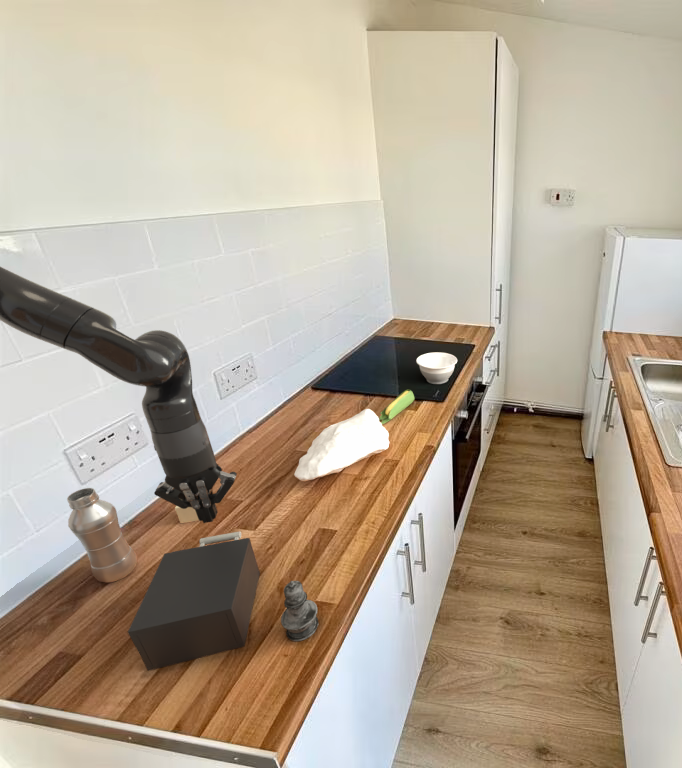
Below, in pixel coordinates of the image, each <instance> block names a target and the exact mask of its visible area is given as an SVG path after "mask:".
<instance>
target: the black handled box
mask: <svg viewBox="0 0 682 768" xmlns="http://www.w3.org/2000/svg"><path fill="white" fill-rule="evenodd" d="M245 538H246V539H244V538H240V539H241V540H239V539H238V540H236V541H233V540H229V541H230V542H228V541H224V542H225V543H223V542H218V543H219V544H217V543H213V544H214V545H212V544H208V545H209V546H207V545H204V546H203V547H199V546H197V547H198V548H196V547H191V548H192V549H190V548H186V549H187V550H185V549H181V550H182V551H180V550H175V551H176V552H174V551H171V552H166V553H164V554H163V556H162V558H161V560H160V563H159V564H158V566H157V569H156V571H155V573H154V575H153V577H152V580H151V581H150V584H149V586H148V588H147V590H146V592H145V594H144V596H143V599H142V600H141V603H140V604H139V607H138V610H137V611H136V614H135V616H134V618H133V620H132V622H131V624H130V626H129V628H128V631H127V634H128V636H129V637H130V639H131V641H132V643H133V645H134V647H135V649H136V650H137V652H138V655H139V656H140V659H141V660H142V662H143V664H144V666H145V667H146V670H147V671H148V672H149V671H153V670H157V669H160V668H164V667H169V666H174V665H176V664H177V665H178V664H180V663H181V664H182V663H184V662H189V661H192V660H197V659H201V658H203V657H204V658H205V657H208V656H212V655H216V654H220V653H224V652H228V651H232V650H236V649H240V648H243V647H245V645H246V641H247V636H248V632H249V628H250V627H249V626H250V622H251V618H252V613H253V609H254V608H253V607H254V603H255V598H256V595H257V589H258V584H259V580H260V575H261V572H260V569H259V565H258V562H257V559H256V555H255V552H254V548H253V545H252V541H251V538H250V537H245Z"/></svg>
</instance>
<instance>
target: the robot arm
mask: <svg viewBox="0 0 682 768" xmlns="http://www.w3.org/2000/svg"><path fill="white" fill-rule="evenodd" d="M0 321H1V322H2V323H4V324H6V325H7V326H9V327H10V328H13V329H15V330H17V331H19V332H21V333H23V334H25V335H28V336H30V337H32V338H35V339H38V340H40V341H42V342H45V343H48V344H50V345H53V346H55V347H58V348H61V349H64V350H66V351H69V352H72V353H74V354H78V355H79V356H81V357H82V358H83V359H85V360H87V361H88V362H89V363H91V364H93V365H94V366H96V367H98V368H99V369H101V370H103V371H104V372H106V373H107V374H109V375H111V376H112V377H114V378H116V379H118V380H120V381H122V382H124V383H127V384H130V385H134V386H138V387H145V392H144V394H143V397H142V399H141V408H142V412H143V415H144V417H145V420H146V422H147V423H146V424H147V425H148V428H149V430H150V434H151V440H152V444H153V449H154V451H156V454H157V456H158V457H157V458H158V459H159V463H160V465H161V468H162V470H163V473H164V474H165V477H164V481H161V482H159V484H158V485H157V486H156V488H155V490H154V495H155V496H156V497H158V498H161V499H162V500H164V501H166V502H168V503H170V504H172V505H174V506H175V507H176V506H178V507H180V508H182V509H186V508H188V507H192V508H193V509H195V511H196V514H197V516H198V519H199V522H202V523H203V524H207V523H212V522H214V520H215V519H216V517H217V515H218V513H219V511H218V508H217V505H216V504H220V503H221V502H222V501H223V499H224V498H225V496H226V495H227V494H228V492H229V491H230V490H231V488H232V487H233V485H234V483H235V481H236V477H237V472H235V471H230V472H226V471H223V469H222V466H220V465H219V464H218V463H217V460H216V455H215V453H214V449H213V447H212V443H211V440H210V437H209V433H208V430H207V427H206V425H205V423H204V422H203V419H202V417H201V413H200V411H199V408H198V404H197V401H196V399H195V397H194V393H193V377H192V366H191V358H190V356H189V351H188V350H187V348H186V346H185V344H184V343H183V341H182V340H181V339H180V338H179V337H177V336H176V335H175V334H173V333H171V332H170V331H167V330H166V331H165V330H161V329H160V330H159V329H158V330H157V329H154V330H149V331H147V332H146V331H145V332H144V333H141V334H140V335H139V336H138V337H136V338H135V339H134V338H132V337H129V336H128V335H126V334H124V333H123V332H121V331H120V330H118V329H117V321H116V320H115V318H114V317H112V316H111V315H110V314H108V313H106V312H104V311H102V310H99V309H97V308H95V307H93V306H91V305H88V304H85V303H83V302H81V301H78V300H76V299H74V298H72V297H69V296H67V295H65V294H62V293H59V292H58V291H55V290H53V289H50V288H48V287H46V286H43V285H41V284H39V283H37V282H34V281H32V280H30V279H27V278H25V277H23V276H21V275H19V274H18V273H15V272H12V271H11V270H9V269H6V268H4V267H2V266H0ZM219 479H220V480H219ZM218 480H219V483H220V486H219V488H218V489H217V490H216V492H215V493H214V486H215V484H216V483H217V481H218Z"/></svg>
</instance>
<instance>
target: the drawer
mask: <svg viewBox="0 0 682 768" xmlns="http://www.w3.org/2000/svg"><path fill="white" fill-rule="evenodd" d="M246 538H247V537H244V538H243V539H246ZM241 539H242V532H241V530H239V531H234V532H228V533H224V534H218V535H211V536H206V537H200V539H199V546H196V547H195V548H198V547H203V546H209V545H214V544H219V543H225V542H230V541H236V540H241ZM192 548H193V547H191V548H189V549H192ZM187 549H188V548H186V549H184V550H187ZM182 550H183V549H180V550H179V551H182ZM176 551H177V550H175V551H173V552H176Z"/></svg>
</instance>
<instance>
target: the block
mask: <svg viewBox="0 0 682 768" xmlns="http://www.w3.org/2000/svg"><path fill="white" fill-rule="evenodd" d="M174 510H175V513H176V515H177V518H178V521H179V523H180V524H186V523H192V522H200V520H199V519H198V516H197V514H196V511H195V509H193V508H192V507H188V508H186V509H182V508H180V507H178V506H176V505H175V507H174Z"/></svg>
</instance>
